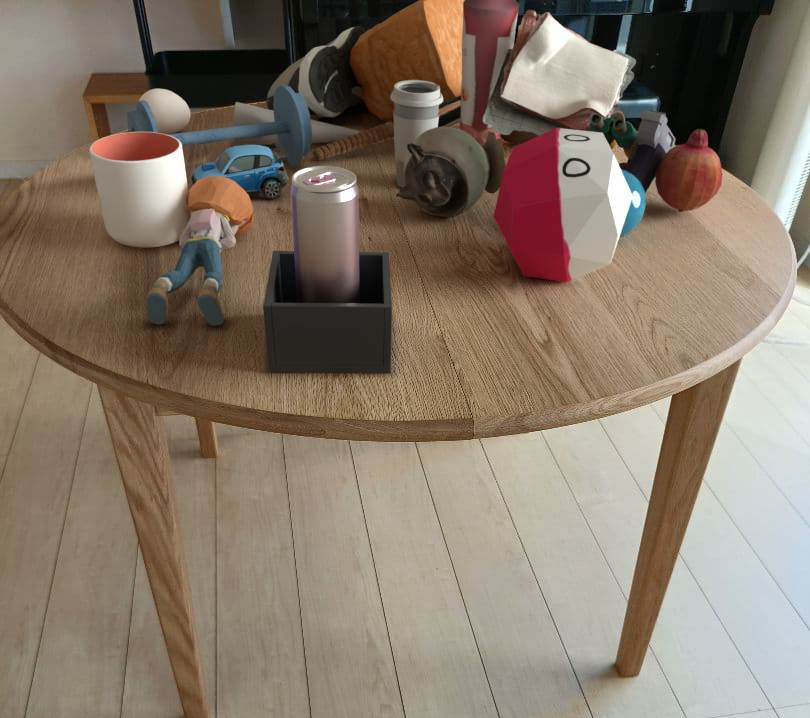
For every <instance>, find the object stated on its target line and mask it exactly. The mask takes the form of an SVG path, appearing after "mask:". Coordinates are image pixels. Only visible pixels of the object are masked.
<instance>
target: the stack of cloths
mask: <svg viewBox="0 0 810 718" xmlns="http://www.w3.org/2000/svg"><path fill="white" fill-rule="evenodd" d="M551 2H552V5H555V4H554V3H553V1H551ZM617 2H622V0H617ZM543 3H544V1H543ZM544 4H545V3H544ZM628 11H630V8H629V9H628ZM521 18H522V19H521V24H519V25H518V28H517V29H518V30H517V36H516V39H515V40H516V41H515V42H514V46H513V49H507V50H508V53H507V55H506V58H505V60H504V63H503V65H502V68H501V71H500V74H499V77H498V80H497V82H496V85H495V87H494V90H493V94H492V95H491V97H490V99H489V102H488V105H487V109H486V111H485V114H484V116H483V123H484V124H491V125H492V129H493V130H494V131H496V132H498V133H500V134H503V135H509V134H511V132H512V131H513V130H517V131H526V132H532V133H535V134H536V135H538V136H540V135H542V134H544V133H546V132H548V131H551V130H553V129H555V128H563V129H572V130H581V131H591V129H590V120H589V118H590V115H591V114H593V113H599V114H600V115H601V117H602V118H603V120H605V119H606V117H609V118H610V116H611V115H612V114H614V113H616V112H619V113H622V114H623V115H624V112H623V111H622V110H620V108H621V105H620V99H621V98H622V97H623V93H624V91H625V90H626V89H627V88H628V86H629V85H630V84H631V83H632V81H633V80H634V78H635V73H634V72H633V71H632V69H634V67H635V66H636V63H637V60H636V59H635V58H634V57H632V56H631V55H629V54H627V53H624V52H623V51H622V50H619V49H614V50H611V49H607V48H604V47H602V46H601V45H600V46H599V45H597V44H594V43H591V42H589V41H588V40H587V39H586V38H584V37H583V36H581V35H580V34H578V33H576V32H575V31H573V30H571V29H569V28H568V27H565V26H563V24H561V23H560V22H559V21H557V20H556V19H555V18H554V17H553V16H552V15H551V13H550V12H544V13H543V14H540V13H537V12H536V10H533V9H527V10H526V11H525V13H524V14H523V16H522V17H521ZM656 55H657V56H658V53H656ZM654 67H655V65H652V66H651V67H650V68H651V69H652V68H654ZM651 98H653V97H651Z"/></svg>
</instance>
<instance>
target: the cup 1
mask: <svg viewBox="0 0 810 718" xmlns="http://www.w3.org/2000/svg"><path fill="white" fill-rule="evenodd" d="M88 152H89V157H90V161H91V167H92V170H93V171H92V172H93V177H94V181H95V185H96V190H97V195H98V199H99V205H100V208H101V213H102V219H103V223H104V224H103V225H104V227H105V231H106V232H107V234H108V235H109V237H111V239H113V240H114V241H115V242H117V243H120V244H121V245H124V246H128V247H132V248H141V249H145V248H146V249H147V248H158V247H159V248H160V247H164V246H169V245H171V244H174V243H176V242H179V240H180V236H181V234H182V233H183V231H184V229H185V227H186V225H187V224H188V222H189V220H190V218H191V213H190V211H188V209H187V208H186V207H185V205H188V204H189V201H188V194H189V186H188V185H189V184H188V179H187V172H186V165H185V164H186V163H185V158H184V157H185V156H184V151H183V146H182V144H181V142H180V141H179V140H178V139H176V138H175V137H172V136H170V135H166V134H162V133H156V132H129V131H128V132H119V133H115V134H111V135H108V136H104V137H101V138H99V139H97V140H96V141H94V142H93V143H92V144H91V145H90V146H89V149H88ZM184 204H185V205H184Z"/></svg>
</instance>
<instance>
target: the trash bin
mask: <svg viewBox="0 0 810 718" xmlns="http://www.w3.org/2000/svg"><path fill="white" fill-rule="evenodd" d="M391 278H392V277H391V259H390V252H389V251H359V302H360V303H297V293H296V276H295V260H294V250H273V251H272V254H271V260H270V264H269V270H268V276H267V282H266V286H265V287H266V288H265V294H264V300H263V305H262V308H263V309H262V310H263V321H264V330H265V331H264V332H265V343H266V354H267V365H268V373H281V374H282V373H284V374H285V373H288V374H289V373H299V374H301V373H302V374H304V373H305V374H307V373H308V374H309V373H311V374H312V373H313V374H314V373H316V374H391V372H392V370H391V369H392V336H393V335H392V333H393V331H392V330H393V329H392V328H393V327H392V326H393V299H392V297H393V296H392V281H391V280H392V279H391Z"/></svg>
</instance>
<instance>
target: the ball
mask: <svg viewBox="0 0 810 718" xmlns="http://www.w3.org/2000/svg"><path fill="white" fill-rule="evenodd" d="M621 171H622V173H623V175H624V178H625V180H626V182H627V184H628V186H629V189H630V191H631V193H632V195H633V197H632V200H631V203H630V206H629V209H628V212H627V215H626V219H625V222H624V225H623V228H622V231H621V234H620V237H619V239H621V238H624V237H626V236H628V235H629V234H631V233H632V232H633V231H634V230H635V229H636V227H637V226H638V225H639V224H640V223H641V222H642V219H643V218H644V215H645V211H646V206H647V197H646V196H647V195H646V193H645V190H644V188H643V186H642V184H641V183H640V181H639V180H638V179H637V178H636V177H635V176H634V175H633V174H631V173H630V172H628V171H626V170H621Z"/></svg>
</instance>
